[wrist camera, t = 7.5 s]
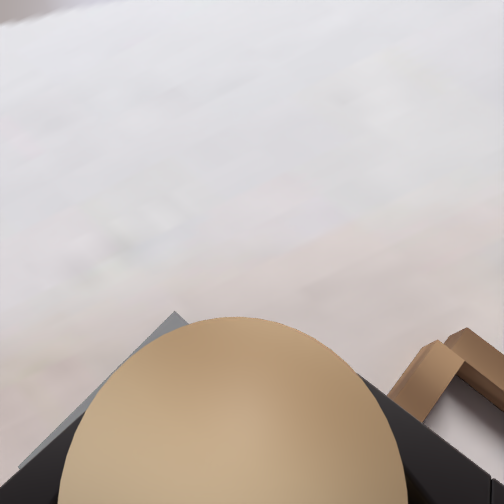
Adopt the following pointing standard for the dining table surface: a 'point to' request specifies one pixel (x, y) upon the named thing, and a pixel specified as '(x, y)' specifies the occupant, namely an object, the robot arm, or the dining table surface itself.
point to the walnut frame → (450, 373)
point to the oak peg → (234, 425)
